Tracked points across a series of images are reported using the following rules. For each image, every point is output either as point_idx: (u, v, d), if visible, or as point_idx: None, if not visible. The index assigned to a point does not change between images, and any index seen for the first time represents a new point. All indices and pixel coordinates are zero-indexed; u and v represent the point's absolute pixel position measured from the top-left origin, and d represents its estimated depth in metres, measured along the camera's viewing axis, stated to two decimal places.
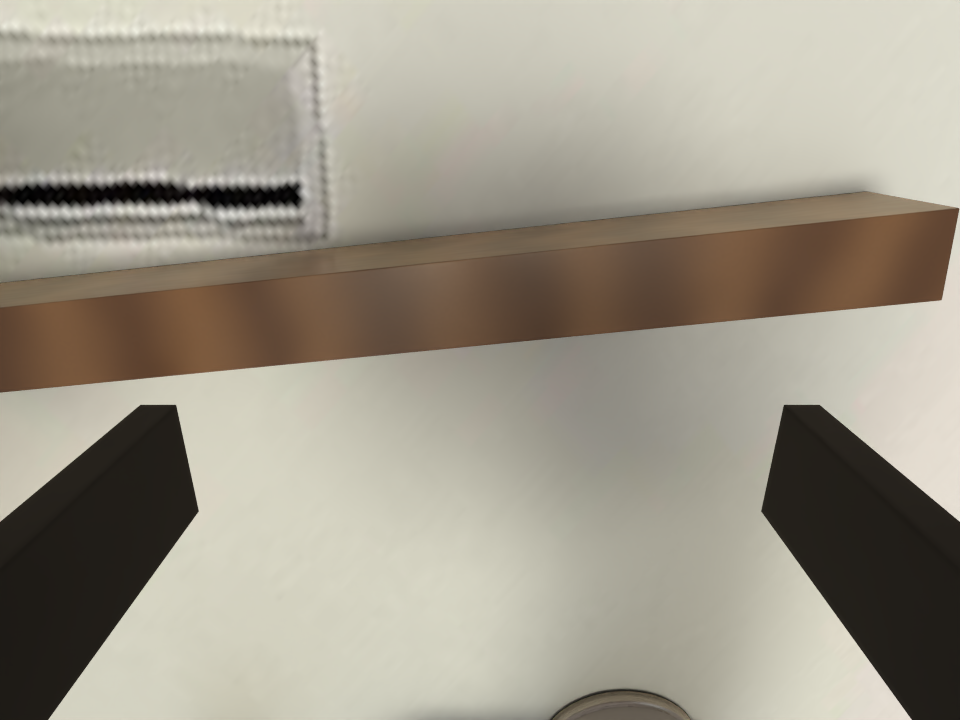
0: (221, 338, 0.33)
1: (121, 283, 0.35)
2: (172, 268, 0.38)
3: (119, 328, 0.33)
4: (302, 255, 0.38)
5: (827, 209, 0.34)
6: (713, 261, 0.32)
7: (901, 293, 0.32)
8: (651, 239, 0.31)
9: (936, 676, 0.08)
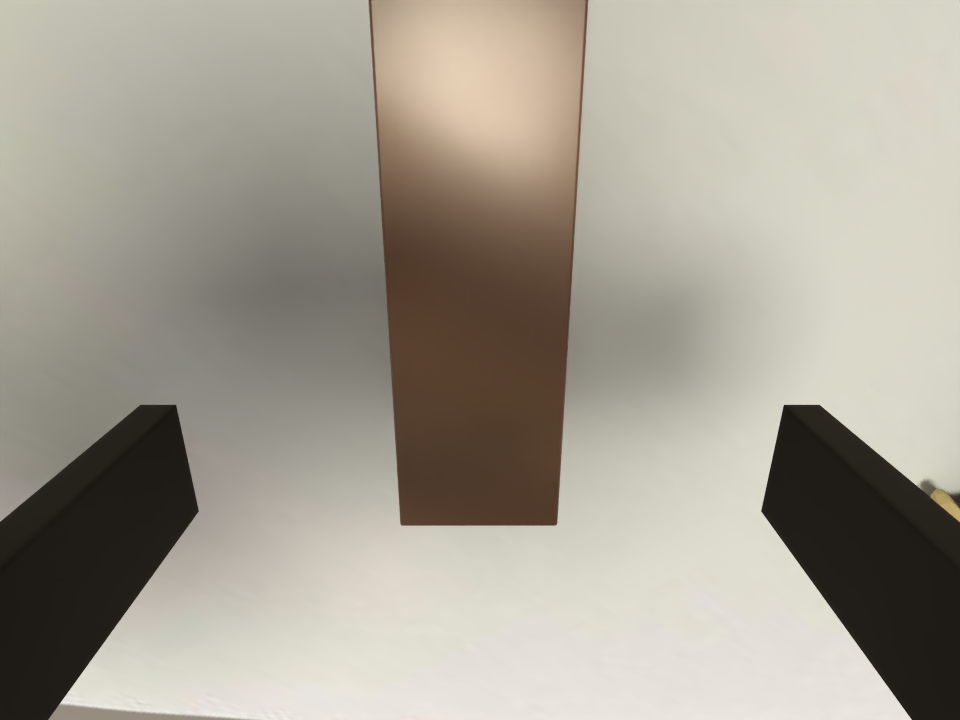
0: None
1: None
2: None
3: None
4: None
5: None
6: (521, 92, 0.14)
7: (417, 463, 0.18)
8: None
9: (936, 676, 0.08)
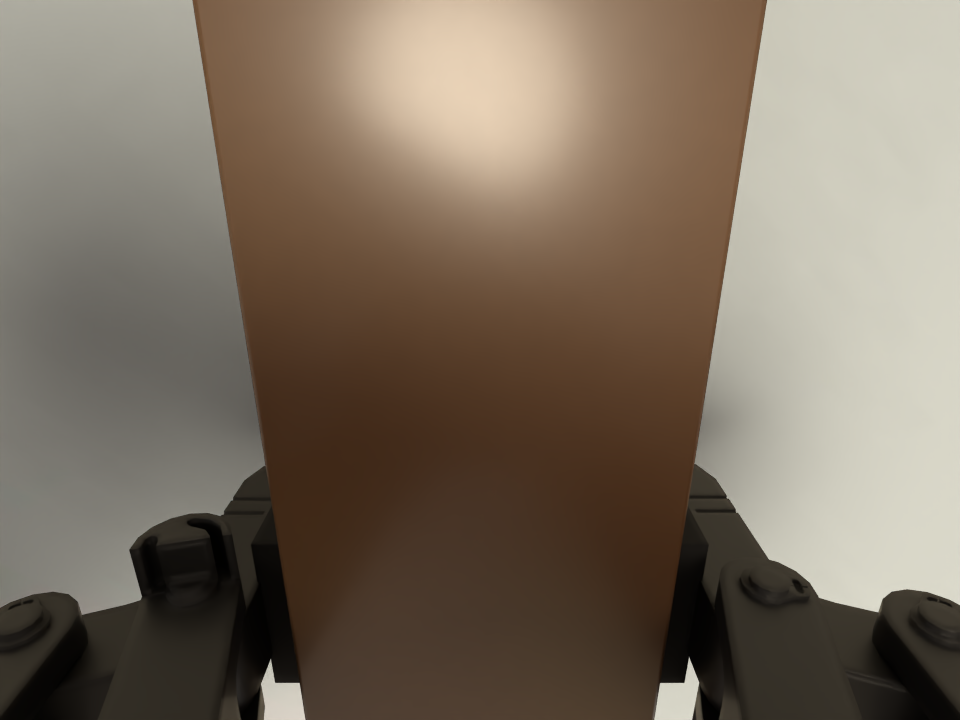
0: None
1: None
2: None
3: None
4: None
5: None
6: (595, 42, 0.05)
7: None
8: None
9: None
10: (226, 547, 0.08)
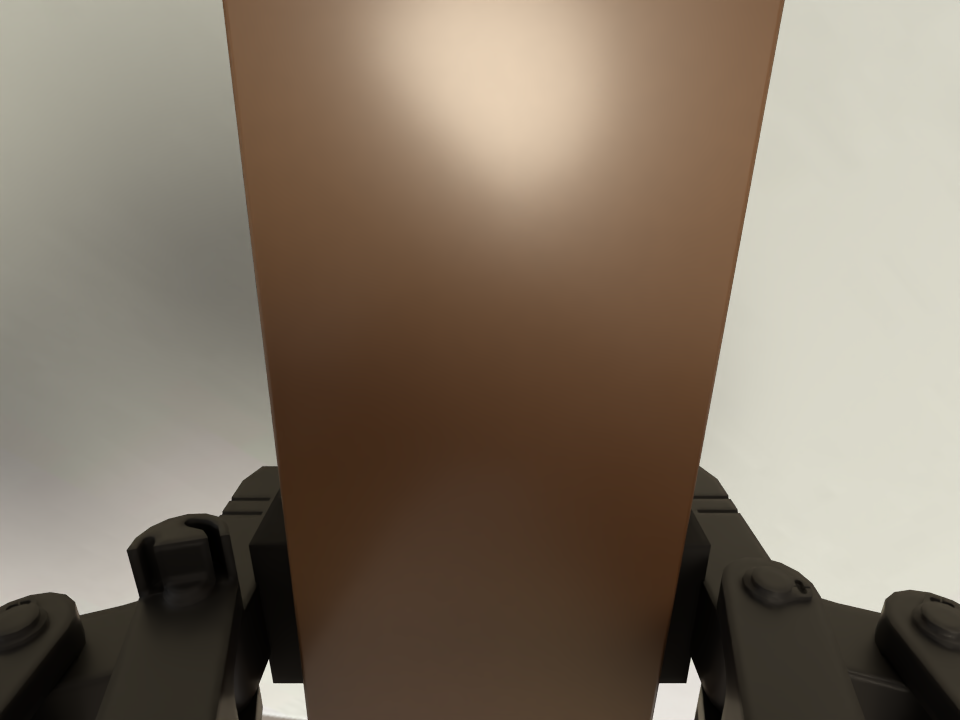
0: None
1: None
2: None
3: None
4: None
5: None
6: (615, 48, 0.05)
7: None
8: None
9: None
10: (224, 547, 0.08)
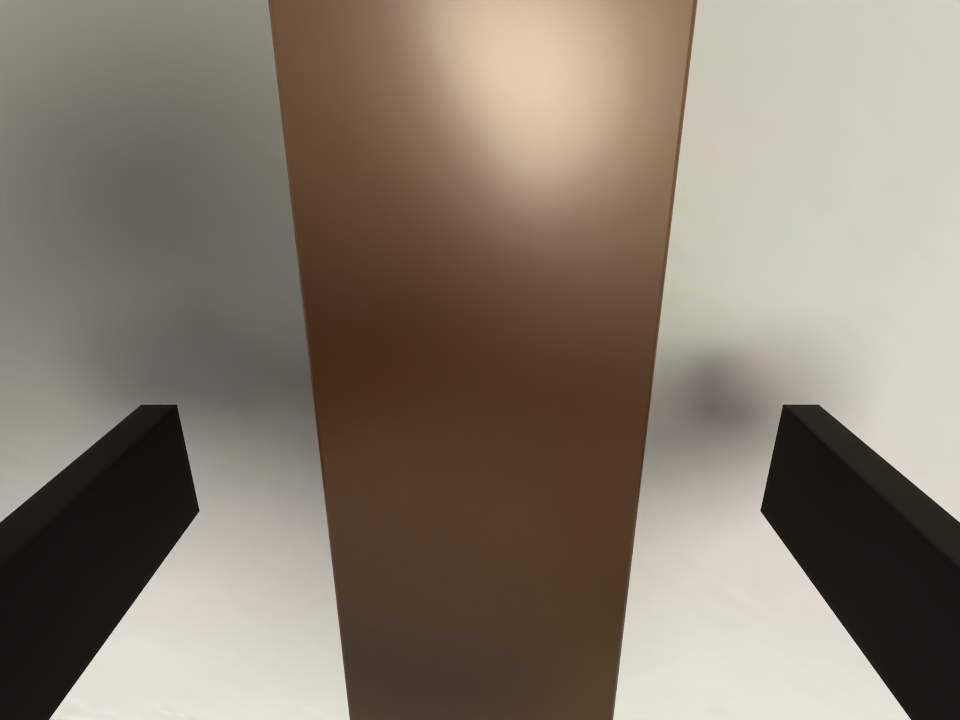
0: None
1: None
2: None
3: None
4: None
5: None
6: (570, 8, 0.07)
7: (377, 664, 0.11)
8: None
9: (935, 675, 0.08)
10: None
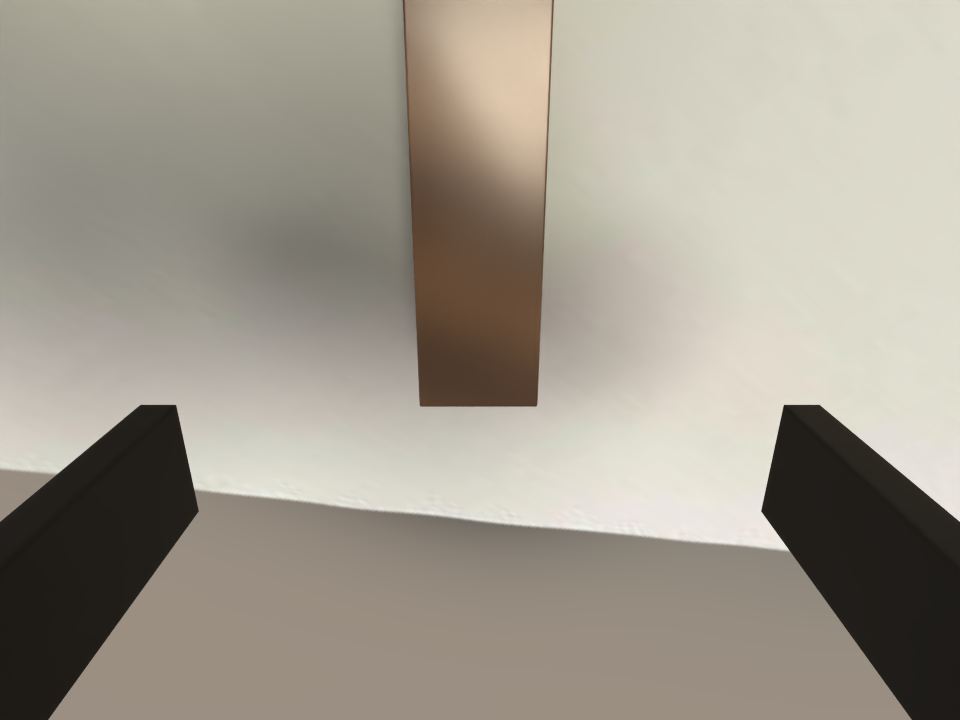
0: None
1: None
2: None
3: None
4: None
5: None
6: (508, 79, 0.20)
7: (433, 356, 0.24)
8: None
9: (936, 676, 0.08)
10: None
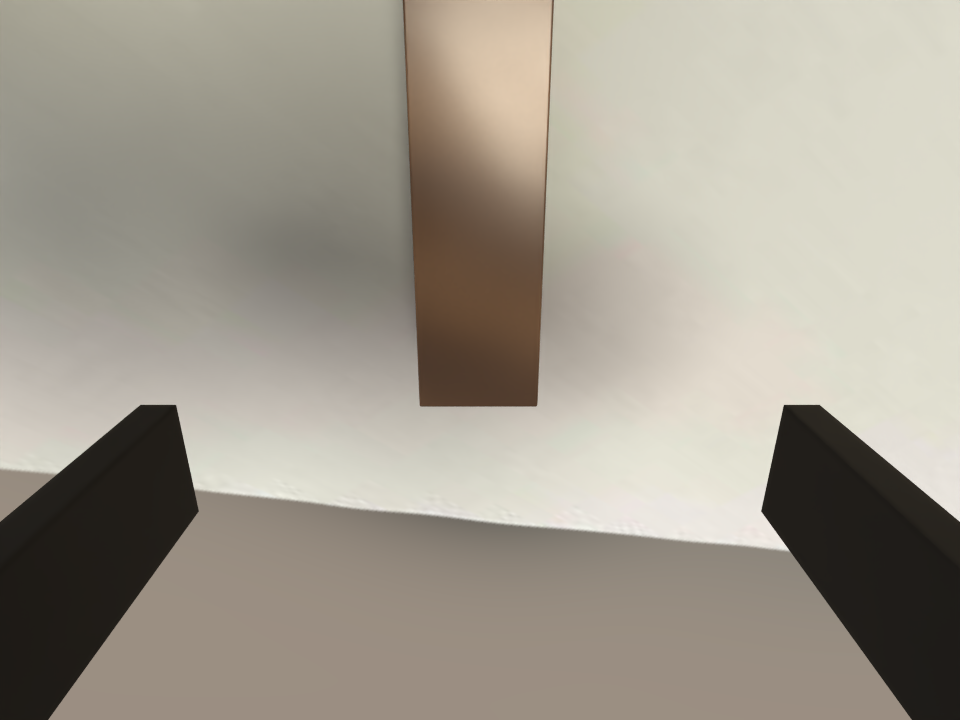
0: None
1: None
2: None
3: None
4: None
5: None
6: (508, 79, 0.20)
7: (433, 356, 0.24)
8: None
9: (936, 676, 0.08)
10: None
